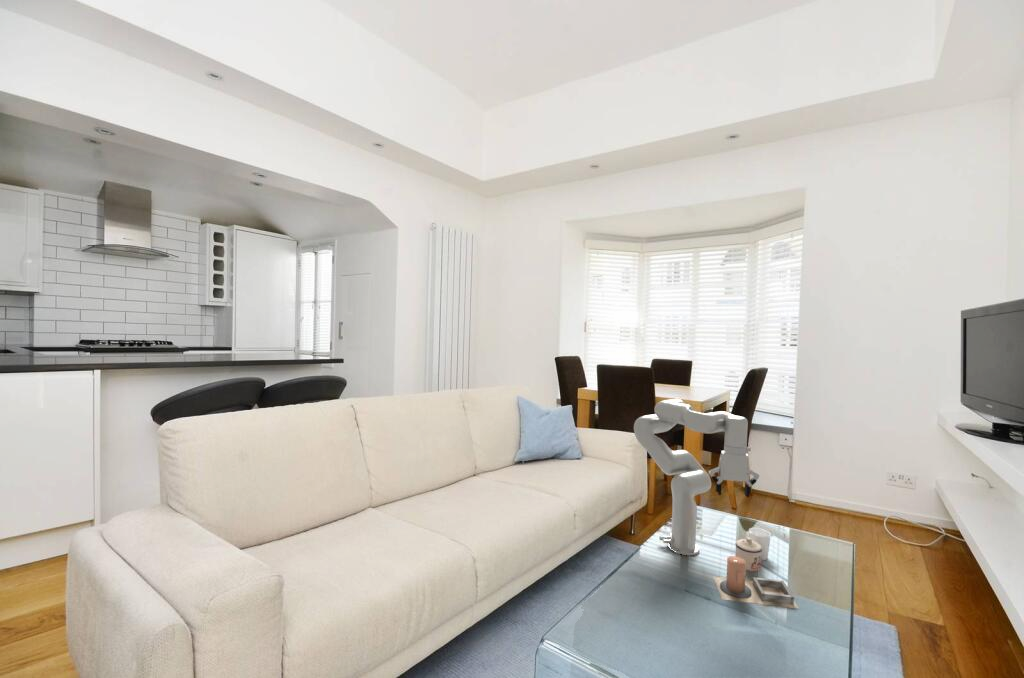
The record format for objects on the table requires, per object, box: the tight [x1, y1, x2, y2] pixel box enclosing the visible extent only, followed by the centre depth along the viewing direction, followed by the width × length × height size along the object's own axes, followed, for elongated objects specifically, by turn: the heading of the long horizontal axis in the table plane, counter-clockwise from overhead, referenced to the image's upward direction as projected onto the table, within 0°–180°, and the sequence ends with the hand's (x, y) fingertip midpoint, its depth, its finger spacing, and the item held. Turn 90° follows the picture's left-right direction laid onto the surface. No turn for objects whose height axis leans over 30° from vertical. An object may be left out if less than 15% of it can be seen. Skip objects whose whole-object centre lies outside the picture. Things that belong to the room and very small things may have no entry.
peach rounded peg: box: [725, 555, 747, 593], centre depth 169 cm, size 8×6×10 cm
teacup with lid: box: [735, 536, 762, 572], centre depth 187 cm, size 12×9×12 cm
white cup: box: [748, 527, 772, 561], centre depth 195 cm, size 8×8×10 cm
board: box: [712, 576, 800, 610], centre depth 169 cm, size 24×14×4 cm, turn 80°
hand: (732, 494), depth 180 cm, fingers open, 9 cm apart
